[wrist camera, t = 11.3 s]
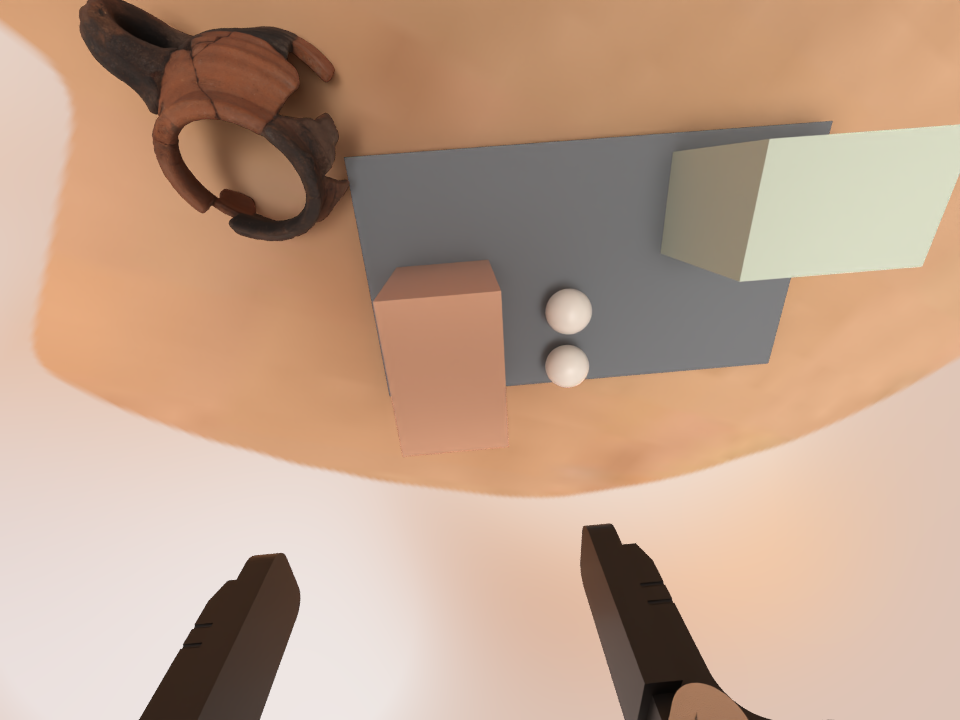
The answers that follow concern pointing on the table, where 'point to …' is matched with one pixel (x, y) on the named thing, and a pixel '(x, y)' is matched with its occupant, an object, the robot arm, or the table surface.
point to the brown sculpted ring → (220, 102)
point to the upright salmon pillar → (444, 357)
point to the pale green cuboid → (811, 203)
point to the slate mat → (571, 247)
